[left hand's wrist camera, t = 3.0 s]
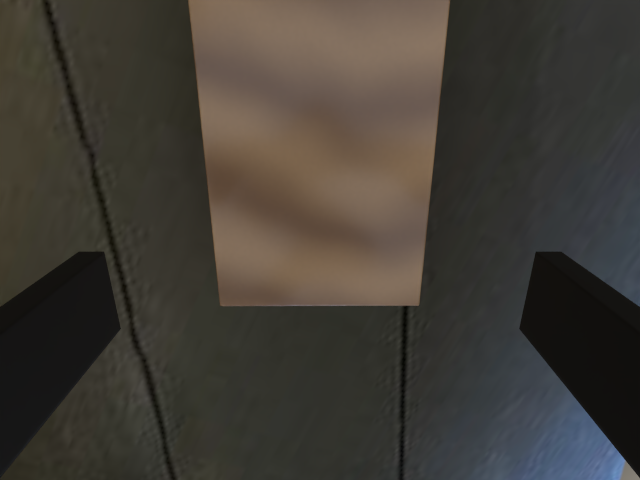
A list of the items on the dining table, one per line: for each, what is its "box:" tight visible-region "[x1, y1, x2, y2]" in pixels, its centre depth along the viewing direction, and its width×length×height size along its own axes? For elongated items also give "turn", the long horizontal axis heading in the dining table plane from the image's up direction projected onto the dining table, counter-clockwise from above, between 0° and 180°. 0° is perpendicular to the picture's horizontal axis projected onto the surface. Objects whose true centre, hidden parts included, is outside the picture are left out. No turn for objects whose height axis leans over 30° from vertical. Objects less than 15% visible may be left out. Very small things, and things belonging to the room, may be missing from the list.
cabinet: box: [188, 0, 450, 306], centre depth 21 cm, size 21×10×9 cm, turn 0°
